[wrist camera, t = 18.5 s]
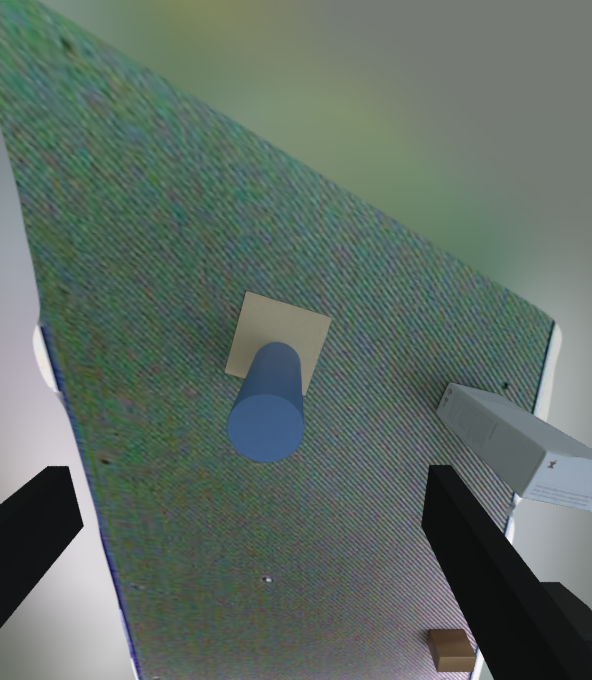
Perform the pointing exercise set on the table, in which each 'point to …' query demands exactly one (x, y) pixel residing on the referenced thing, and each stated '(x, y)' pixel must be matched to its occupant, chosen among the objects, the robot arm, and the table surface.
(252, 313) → the mat
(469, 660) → the brown rectangular block
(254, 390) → the tube
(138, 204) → the table surface
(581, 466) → the cosmetic box
